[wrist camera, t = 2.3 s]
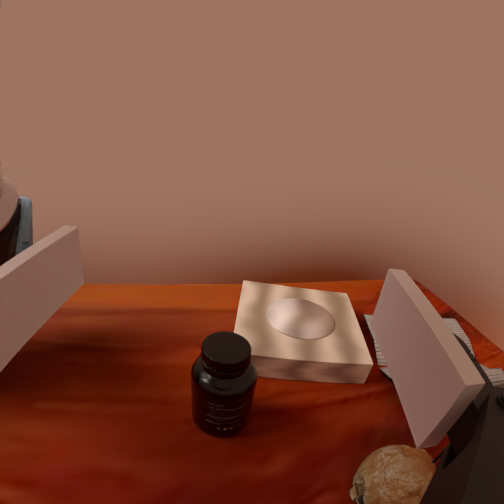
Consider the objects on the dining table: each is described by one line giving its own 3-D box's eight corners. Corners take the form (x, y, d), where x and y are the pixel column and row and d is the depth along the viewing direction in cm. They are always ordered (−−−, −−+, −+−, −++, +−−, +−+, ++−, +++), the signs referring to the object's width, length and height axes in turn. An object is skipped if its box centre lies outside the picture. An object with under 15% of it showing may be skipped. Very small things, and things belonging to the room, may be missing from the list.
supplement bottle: (190, 396, 35) (190, 323, 30) (243, 394, 37) (255, 323, 32) (194, 440, 29) (193, 371, 24) (253, 437, 31) (270, 368, 26)
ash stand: (228, 372, 40) (230, 350, 39) (241, 298, 59) (243, 278, 57) (363, 383, 40) (374, 362, 38) (341, 310, 58) (347, 292, 57)
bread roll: (338, 479, 28) (333, 463, 24) (408, 438, 30) (416, 412, 26) (372, 537, 20) (376, 535, 16) (447, 489, 21) (466, 474, 17)
